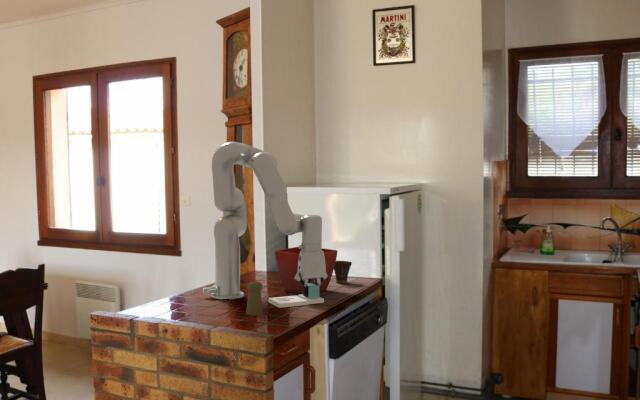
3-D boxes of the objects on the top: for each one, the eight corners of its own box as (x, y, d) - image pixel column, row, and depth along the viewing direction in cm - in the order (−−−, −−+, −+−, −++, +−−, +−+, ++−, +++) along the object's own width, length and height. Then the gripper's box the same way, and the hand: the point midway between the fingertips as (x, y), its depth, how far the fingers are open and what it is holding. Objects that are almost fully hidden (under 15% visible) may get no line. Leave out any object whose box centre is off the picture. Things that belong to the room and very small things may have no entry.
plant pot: (309, 298, 229) (310, 255, 228) (273, 291, 240) (273, 250, 239) (338, 290, 244) (338, 250, 243) (302, 284, 255) (302, 245, 254)
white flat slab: (279, 307, 211) (279, 303, 211) (268, 302, 220) (268, 297, 220) (308, 304, 217) (308, 300, 217) (297, 299, 226) (297, 295, 226)
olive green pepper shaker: (254, 310, 207) (255, 279, 207) (266, 313, 203) (267, 281, 203) (242, 313, 202) (242, 281, 202) (254, 316, 199) (254, 284, 198)
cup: (324, 281, 260) (327, 258, 260) (339, 281, 266) (342, 259, 266) (338, 285, 253) (341, 262, 253) (352, 285, 259) (356, 263, 259)
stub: (309, 304, 217) (309, 288, 217) (298, 298, 226) (298, 283, 226) (323, 302, 220) (324, 286, 220) (311, 297, 229) (312, 282, 228)
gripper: (296, 250, 215) (295, 299, 216) (335, 247, 222) (334, 295, 223) (287, 247, 221) (286, 295, 222) (326, 245, 229) (325, 292, 230)
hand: (310, 295), depth 223 cm, fingers closed on stub, 3 cm apart
